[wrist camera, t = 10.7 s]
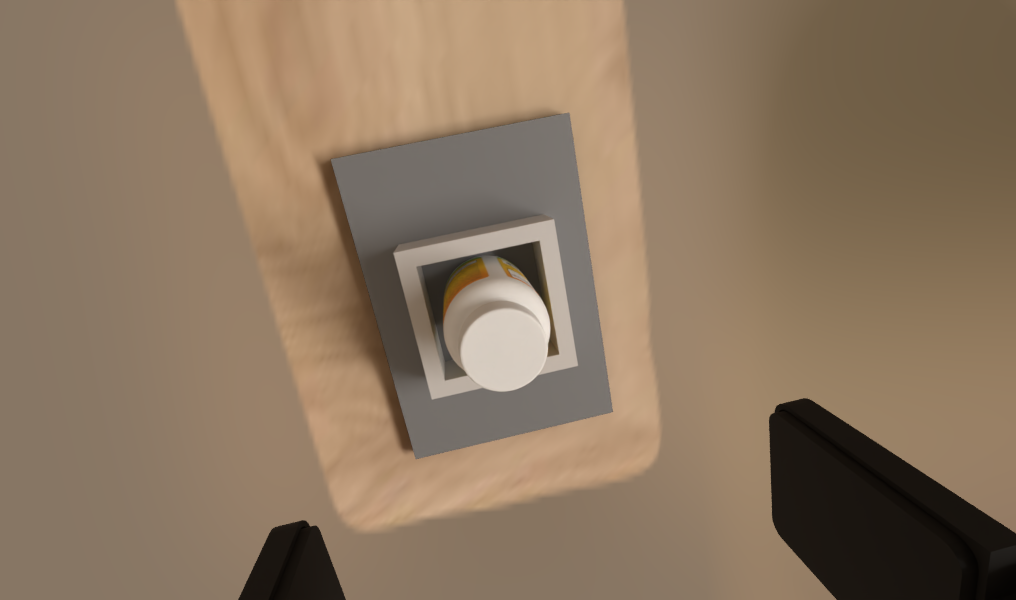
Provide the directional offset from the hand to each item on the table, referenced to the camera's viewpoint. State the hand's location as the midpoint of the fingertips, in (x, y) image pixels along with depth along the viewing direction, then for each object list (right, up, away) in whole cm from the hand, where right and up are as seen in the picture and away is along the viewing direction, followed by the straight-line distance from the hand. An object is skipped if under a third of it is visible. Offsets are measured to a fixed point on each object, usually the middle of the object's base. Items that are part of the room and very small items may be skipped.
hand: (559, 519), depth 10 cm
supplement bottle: (-2, +5, +21) cm, 22 cm away
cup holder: (-2, +5, +22) cm, 23 cm away
